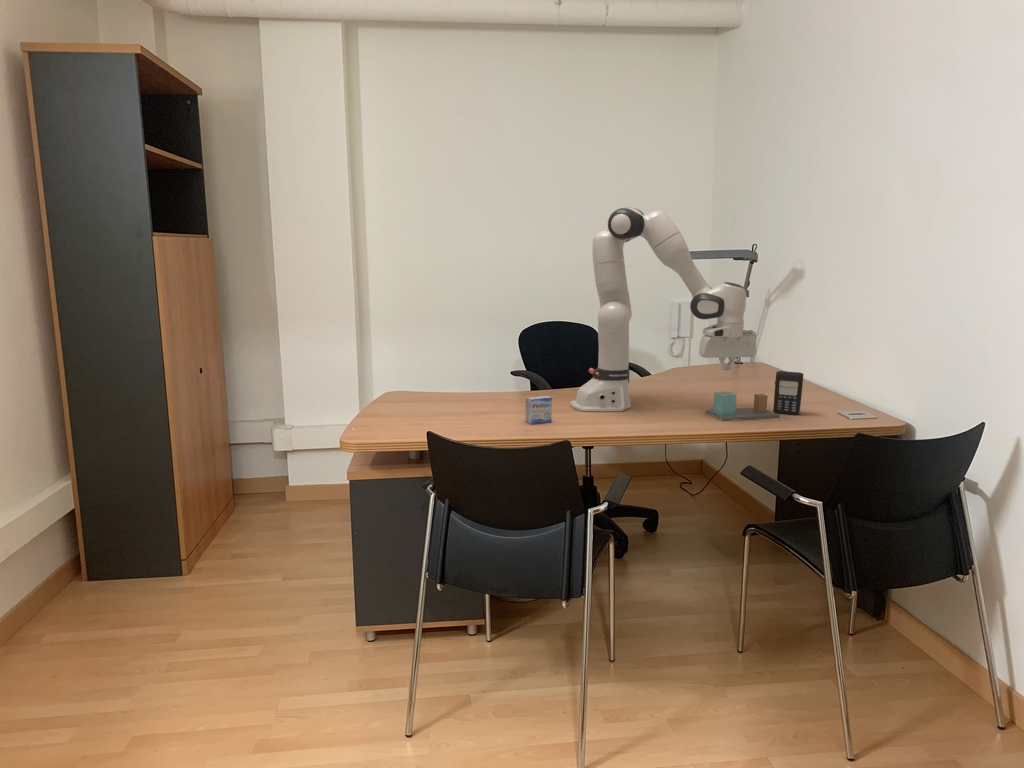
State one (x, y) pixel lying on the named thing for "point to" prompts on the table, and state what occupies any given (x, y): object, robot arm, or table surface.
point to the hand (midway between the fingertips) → (726, 369)
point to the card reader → (788, 392)
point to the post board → (749, 410)
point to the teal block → (724, 403)
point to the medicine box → (538, 409)
